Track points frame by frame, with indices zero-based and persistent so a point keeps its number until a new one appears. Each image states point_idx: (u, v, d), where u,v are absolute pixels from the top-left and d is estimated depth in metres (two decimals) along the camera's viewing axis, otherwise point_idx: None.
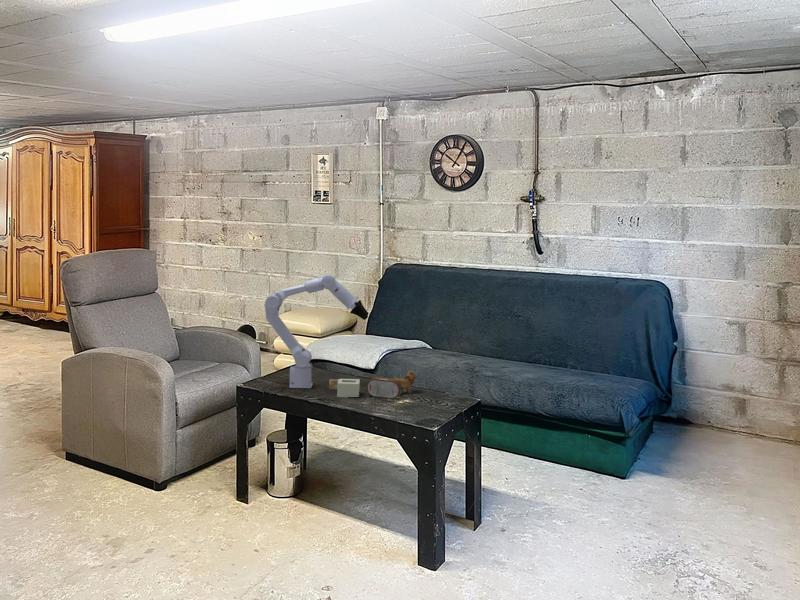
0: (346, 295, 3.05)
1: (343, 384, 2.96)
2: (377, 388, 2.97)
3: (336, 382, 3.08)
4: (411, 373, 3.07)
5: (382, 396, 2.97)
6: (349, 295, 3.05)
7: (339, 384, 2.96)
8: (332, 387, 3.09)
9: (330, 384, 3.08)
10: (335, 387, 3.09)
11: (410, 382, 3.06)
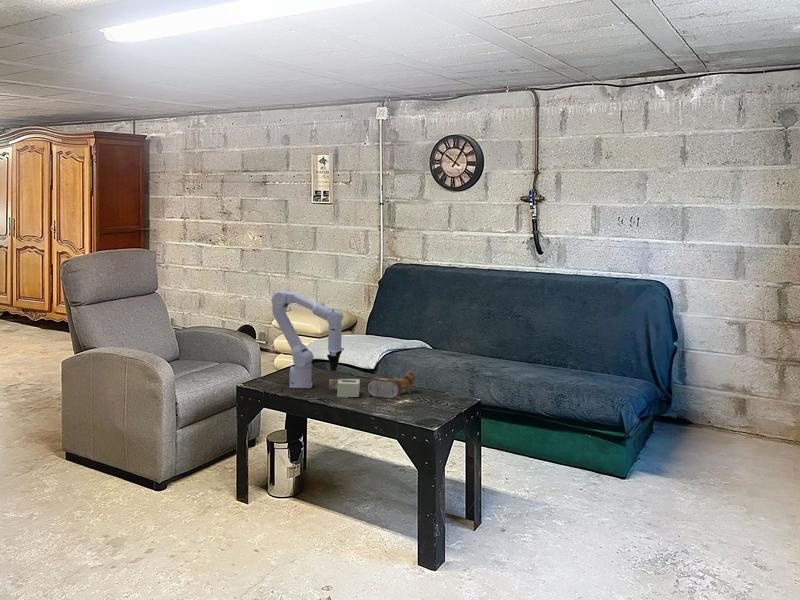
0: (337, 340, 3.04)
1: (343, 384, 2.96)
2: (377, 388, 2.97)
3: (336, 382, 3.08)
4: (410, 373, 3.07)
5: (382, 396, 2.97)
6: (339, 342, 3.05)
7: (339, 384, 2.96)
8: (332, 387, 3.09)
9: (330, 384, 3.08)
10: (335, 387, 3.09)
11: (409, 382, 3.06)
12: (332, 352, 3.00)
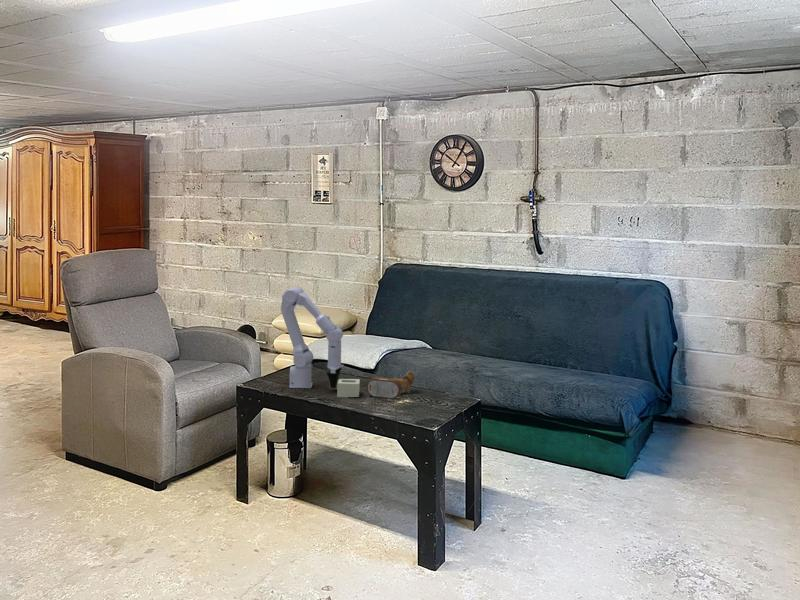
0: (336, 357, 3.05)
1: (343, 384, 2.96)
2: (377, 388, 2.97)
3: None
4: (410, 373, 3.07)
5: (382, 396, 2.97)
6: (339, 359, 3.06)
7: (339, 384, 2.96)
8: None
9: None
10: None
11: (409, 382, 3.05)
12: (332, 369, 3.01)
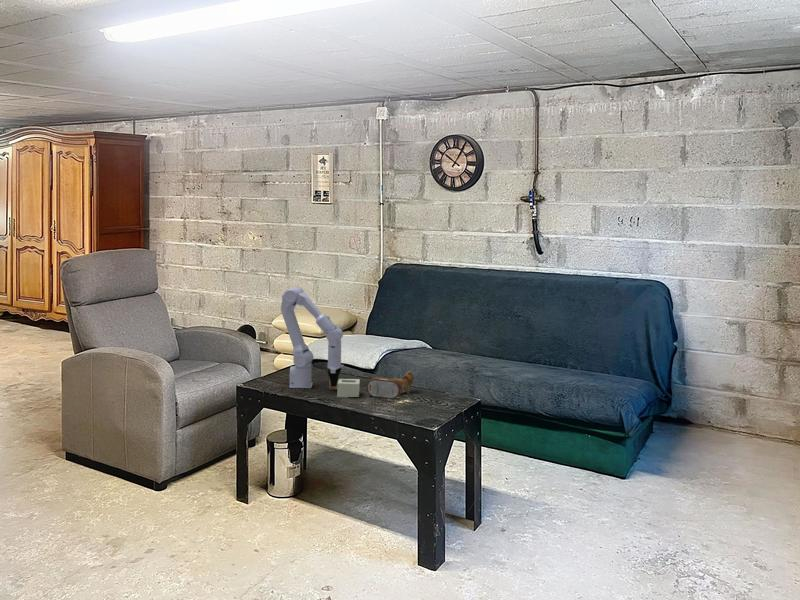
0: (336, 357, 3.05)
1: (343, 384, 2.96)
2: (377, 388, 2.97)
3: None
4: (409, 373, 3.07)
5: (382, 396, 2.97)
6: (339, 359, 3.06)
7: (339, 384, 2.96)
8: (332, 387, 3.09)
9: (330, 384, 3.08)
10: (335, 387, 3.09)
11: (408, 382, 3.05)
12: (332, 369, 3.01)
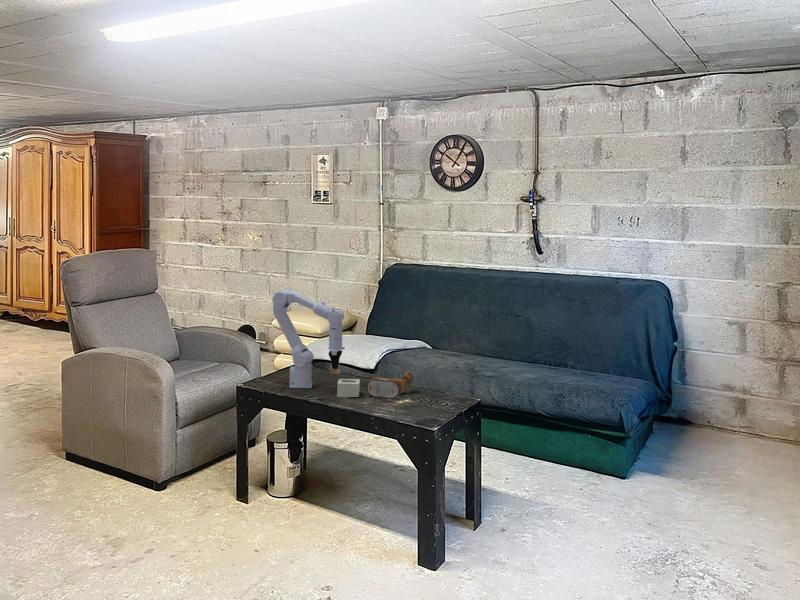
0: (338, 339, 3.04)
1: (343, 384, 2.96)
2: (377, 388, 2.97)
3: None
4: (409, 373, 3.07)
5: (382, 396, 2.97)
6: (340, 341, 3.05)
7: (339, 384, 2.96)
8: (333, 371, 3.07)
9: (331, 368, 3.07)
10: (336, 371, 3.07)
11: (408, 382, 3.05)
12: (333, 351, 3.00)
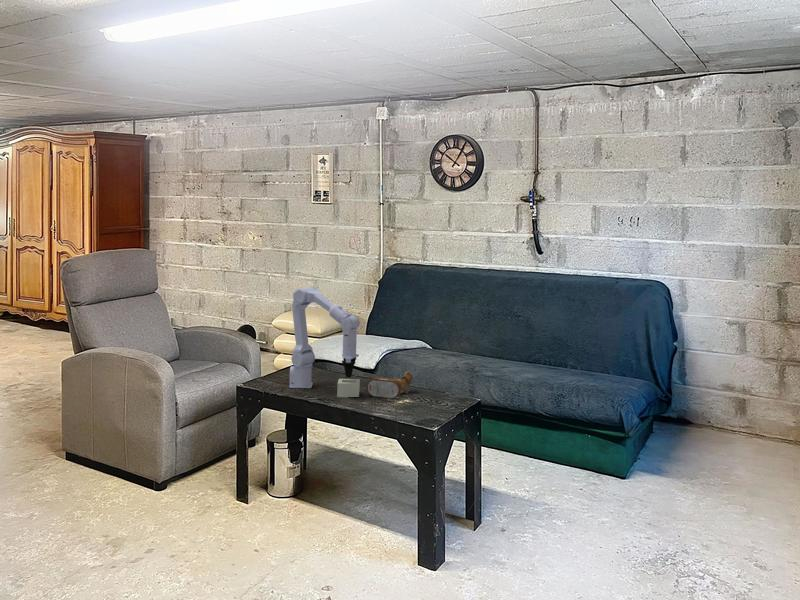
0: (352, 346, 2.95)
1: (343, 384, 2.96)
2: (377, 388, 2.97)
3: None
4: (408, 373, 3.06)
5: (382, 396, 2.97)
6: (354, 348, 2.96)
7: (339, 384, 2.96)
8: None
9: None
10: None
11: (407, 382, 3.05)
12: (347, 359, 2.91)
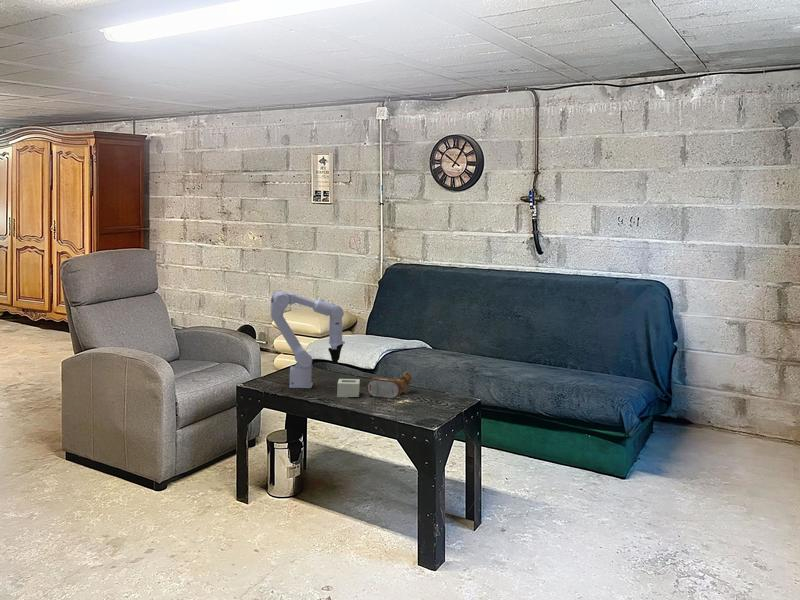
0: (338, 334, 3.11)
1: (343, 384, 2.96)
2: (377, 388, 2.97)
3: None
4: (407, 374, 3.06)
5: (382, 396, 2.97)
6: (340, 335, 3.12)
7: (339, 384, 2.96)
8: None
9: None
10: None
11: (406, 383, 3.05)
12: (333, 345, 3.07)
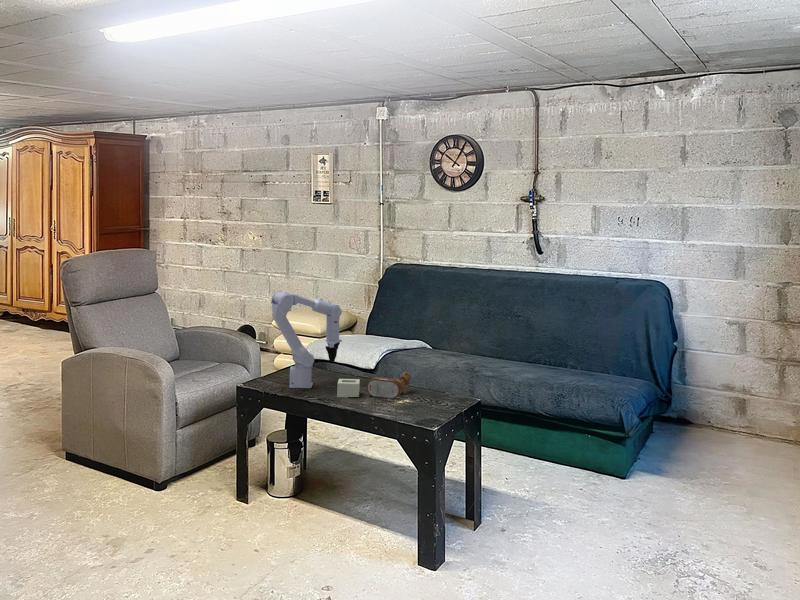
0: (335, 332, 3.15)
1: (343, 384, 2.96)
2: (377, 388, 2.97)
3: None
4: (406, 374, 3.06)
5: (382, 396, 2.97)
6: (337, 334, 3.16)
7: (339, 384, 2.96)
8: None
9: None
10: None
11: (405, 383, 3.04)
12: (330, 344, 3.11)
